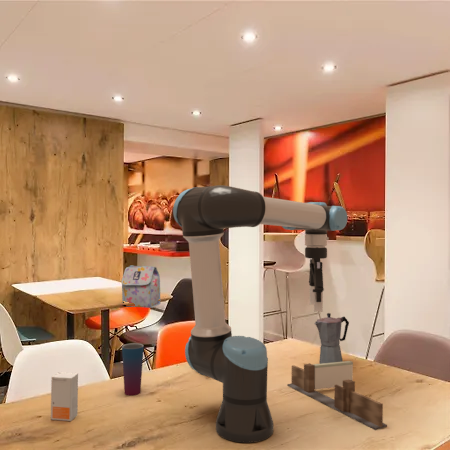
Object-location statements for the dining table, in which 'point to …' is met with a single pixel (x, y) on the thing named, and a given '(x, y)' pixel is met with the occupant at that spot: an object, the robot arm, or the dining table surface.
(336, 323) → the moka pot
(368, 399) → the fence
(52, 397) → the skincare box
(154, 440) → the dining table surface
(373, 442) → the dining table surface
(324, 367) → the beige flat panel
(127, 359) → the cup
